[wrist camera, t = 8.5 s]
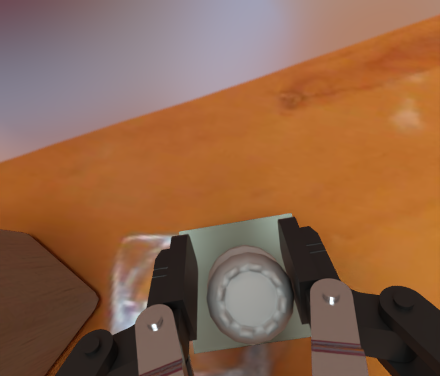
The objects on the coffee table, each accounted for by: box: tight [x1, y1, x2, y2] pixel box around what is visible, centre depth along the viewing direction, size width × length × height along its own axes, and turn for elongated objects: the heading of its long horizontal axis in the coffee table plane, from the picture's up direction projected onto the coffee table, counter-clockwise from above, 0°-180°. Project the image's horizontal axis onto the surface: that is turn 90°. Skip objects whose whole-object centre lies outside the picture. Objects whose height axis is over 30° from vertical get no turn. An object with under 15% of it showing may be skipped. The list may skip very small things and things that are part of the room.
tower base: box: [179, 213, 311, 354], centre depth 23 cm, size 8×8×8 cm
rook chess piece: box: [206, 245, 295, 345], centre depth 15 cm, size 4×4×8 cm
